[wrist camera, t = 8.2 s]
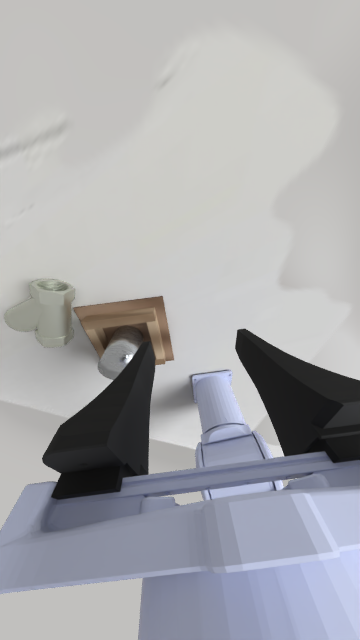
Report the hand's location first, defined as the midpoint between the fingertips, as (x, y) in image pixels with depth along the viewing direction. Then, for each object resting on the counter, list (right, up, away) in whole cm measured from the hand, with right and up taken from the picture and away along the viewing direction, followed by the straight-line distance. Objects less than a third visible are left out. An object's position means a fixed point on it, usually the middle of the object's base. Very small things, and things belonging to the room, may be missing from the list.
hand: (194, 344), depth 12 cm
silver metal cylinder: (-9, -1, +10) cm, 14 cm away
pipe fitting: (-19, +4, +8) cm, 21 cm away
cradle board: (-9, 0, +11) cm, 14 cm away
